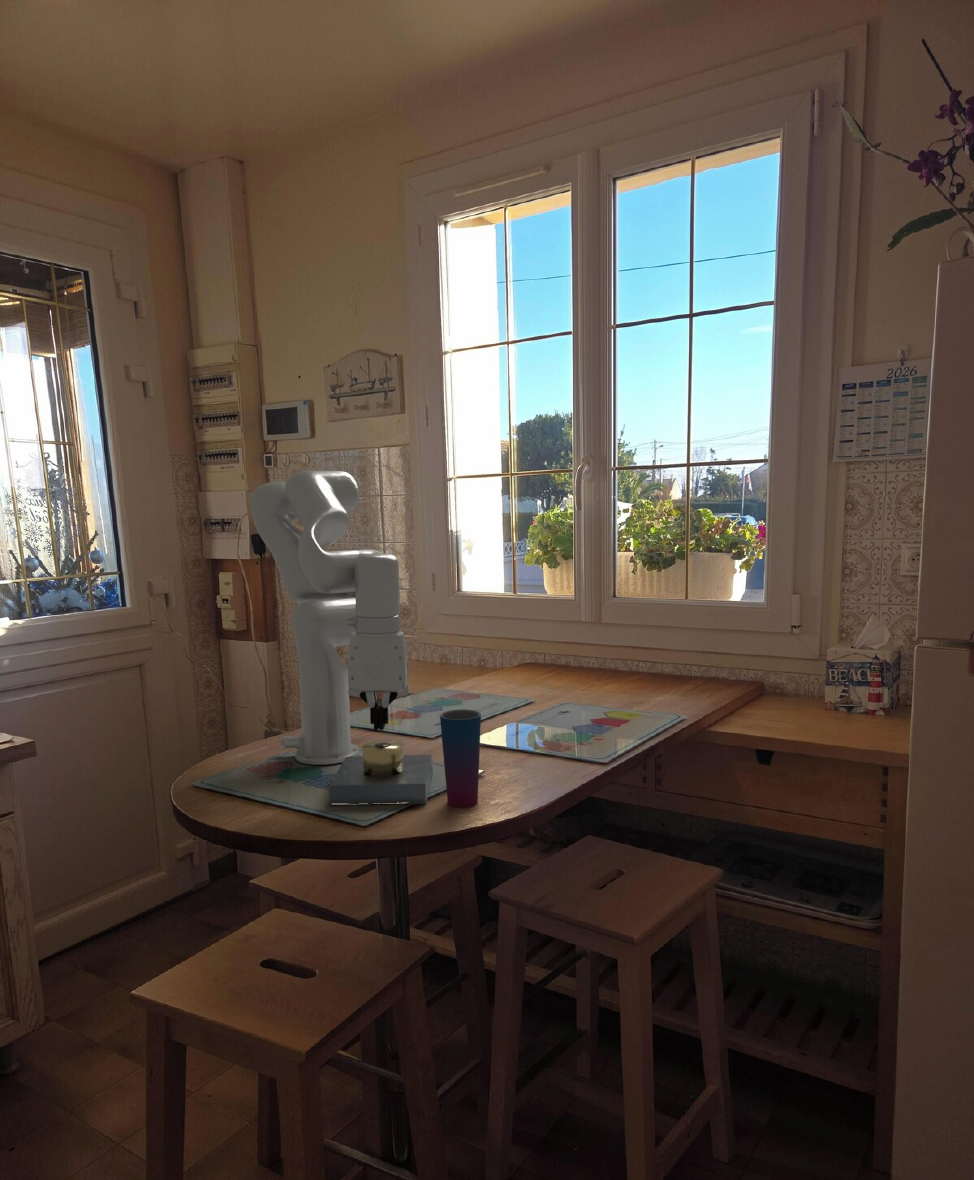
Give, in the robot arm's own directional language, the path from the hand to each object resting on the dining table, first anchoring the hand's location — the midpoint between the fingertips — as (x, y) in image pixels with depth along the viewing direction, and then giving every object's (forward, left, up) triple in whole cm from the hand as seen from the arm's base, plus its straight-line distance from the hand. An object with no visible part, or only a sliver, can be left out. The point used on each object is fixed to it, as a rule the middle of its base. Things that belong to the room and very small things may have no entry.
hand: (379, 727), depth 142 cm
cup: (+15, -8, -11) cm, 20 cm away
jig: (+1, -1, -11) cm, 11 cm away
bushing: (+1, -1, -11) cm, 11 cm away
